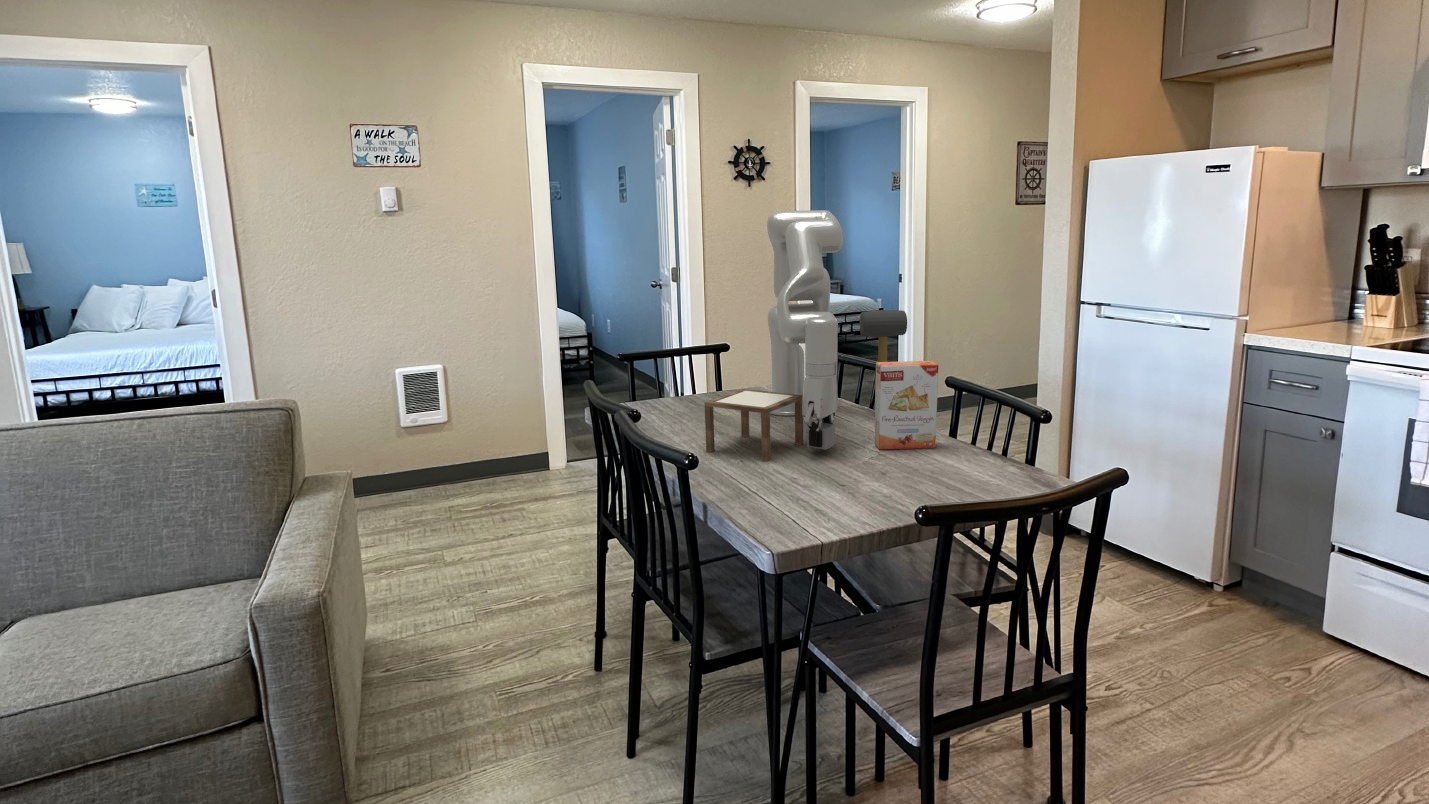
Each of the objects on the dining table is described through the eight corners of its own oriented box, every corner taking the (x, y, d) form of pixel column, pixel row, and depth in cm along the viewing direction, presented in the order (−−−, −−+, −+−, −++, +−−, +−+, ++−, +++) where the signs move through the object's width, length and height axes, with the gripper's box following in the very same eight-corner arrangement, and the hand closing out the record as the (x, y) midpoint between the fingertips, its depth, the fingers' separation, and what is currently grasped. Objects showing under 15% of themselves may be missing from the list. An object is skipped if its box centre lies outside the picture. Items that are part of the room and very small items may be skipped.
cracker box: (879, 450, 196) (880, 365, 191) (873, 444, 202) (874, 361, 197) (936, 448, 196) (939, 363, 192) (929, 442, 202) (932, 359, 197)
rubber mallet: (900, 411, 235) (902, 307, 229) (906, 417, 228) (908, 310, 221) (858, 412, 235) (858, 309, 229) (862, 418, 228) (863, 312, 221)
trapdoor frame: (744, 435, 214) (743, 388, 212) (803, 443, 205) (802, 395, 202) (706, 451, 200) (704, 402, 198) (767, 461, 190) (766, 409, 188)
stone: (816, 441, 199) (816, 421, 198) (835, 444, 196) (835, 424, 195) (807, 446, 195) (806, 426, 194) (825, 449, 192) (825, 429, 191)
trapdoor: (745, 394, 209) (745, 390, 209) (793, 399, 202) (793, 395, 201) (714, 405, 198) (714, 401, 198) (763, 411, 190) (763, 407, 190)
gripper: (823, 361, 200) (823, 432, 204) (789, 374, 186) (790, 450, 191) (851, 364, 196) (850, 436, 200) (818, 377, 182) (818, 455, 187)
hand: (821, 442), depth 195 cm, fingers closed on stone, 5 cm apart
